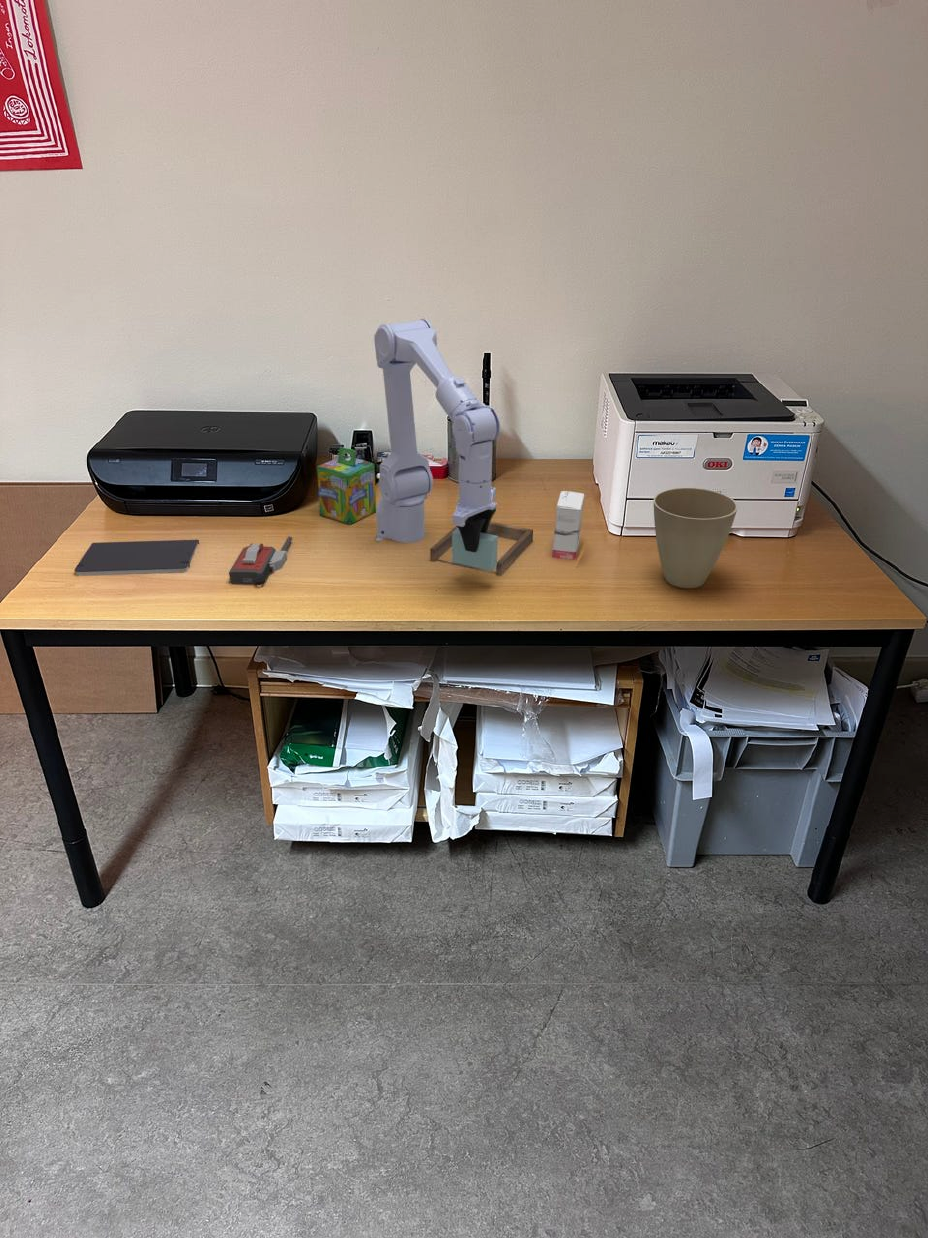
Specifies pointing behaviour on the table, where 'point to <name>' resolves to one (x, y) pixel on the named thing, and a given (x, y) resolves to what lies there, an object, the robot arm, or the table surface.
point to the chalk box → (346, 488)
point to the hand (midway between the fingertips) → (474, 547)
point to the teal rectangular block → (483, 555)
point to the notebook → (137, 557)
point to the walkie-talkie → (257, 563)
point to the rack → (500, 530)
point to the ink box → (568, 525)
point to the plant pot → (691, 532)
